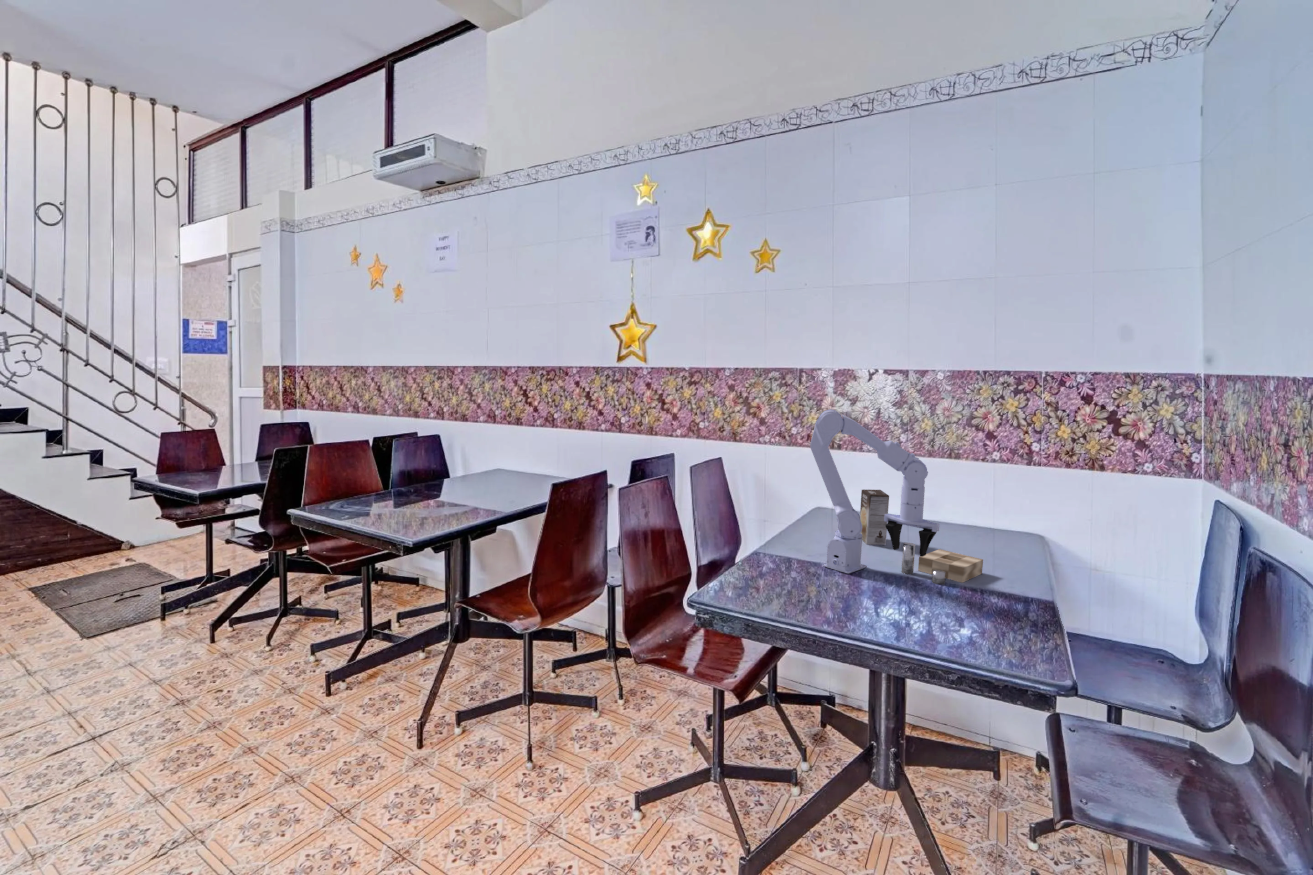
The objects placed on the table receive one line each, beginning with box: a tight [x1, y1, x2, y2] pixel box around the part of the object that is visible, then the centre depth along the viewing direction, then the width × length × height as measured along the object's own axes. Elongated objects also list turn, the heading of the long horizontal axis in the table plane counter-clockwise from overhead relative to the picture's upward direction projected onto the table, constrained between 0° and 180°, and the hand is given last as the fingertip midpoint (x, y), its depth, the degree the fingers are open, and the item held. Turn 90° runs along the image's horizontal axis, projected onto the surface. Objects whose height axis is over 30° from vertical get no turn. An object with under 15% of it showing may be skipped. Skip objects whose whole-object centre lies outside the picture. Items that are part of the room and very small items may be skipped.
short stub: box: [931, 570, 946, 586], centre depth 163 cm, size 3×3×3 cm
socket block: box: [917, 548, 984, 584], centre depth 171 cm, size 12×12×4 cm
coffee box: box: [859, 489, 890, 546], centre depth 200 cm, size 9×6×16 cm
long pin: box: [901, 542, 916, 575], centre depth 170 cm, size 3×3×8 cm
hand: (909, 552), depth 169 cm, fingers open, 7 cm apart
